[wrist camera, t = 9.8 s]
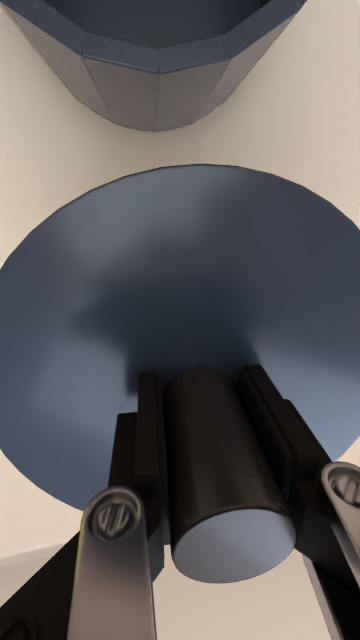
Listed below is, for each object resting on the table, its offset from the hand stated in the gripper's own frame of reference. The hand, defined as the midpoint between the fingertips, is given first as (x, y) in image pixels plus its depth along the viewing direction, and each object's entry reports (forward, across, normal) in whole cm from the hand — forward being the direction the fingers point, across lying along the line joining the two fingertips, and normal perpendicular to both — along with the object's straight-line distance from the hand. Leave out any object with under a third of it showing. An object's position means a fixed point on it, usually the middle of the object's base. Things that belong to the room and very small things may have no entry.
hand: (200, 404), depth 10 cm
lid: (+1, 0, 0) cm, 1 cm away
